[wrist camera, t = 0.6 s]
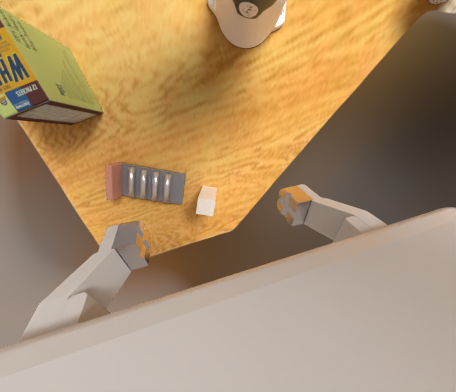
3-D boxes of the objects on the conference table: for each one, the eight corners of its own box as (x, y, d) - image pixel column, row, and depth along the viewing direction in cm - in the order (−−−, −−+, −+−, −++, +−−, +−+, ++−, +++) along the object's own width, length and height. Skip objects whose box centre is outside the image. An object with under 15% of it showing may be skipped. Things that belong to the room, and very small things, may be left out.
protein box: (69, 47, 41) (-14, -4, 27) (104, 112, 46) (50, 100, 31) (32, 62, 42) (-69, 22, 27) (70, 126, 47) (2, 120, 32)
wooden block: (202, 185, 54) (198, 197, 43) (216, 187, 54) (215, 200, 43) (200, 198, 55) (195, 213, 44) (214, 200, 56) (212, 216, 44)
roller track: (118, 162, 50) (105, 165, 45) (185, 173, 52) (181, 178, 47) (119, 193, 54) (106, 199, 48) (182, 203, 56) (177, 210, 50)
